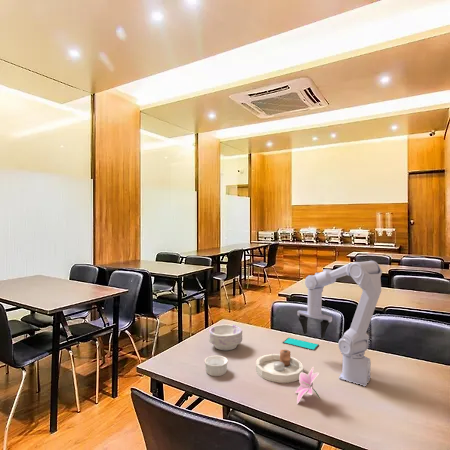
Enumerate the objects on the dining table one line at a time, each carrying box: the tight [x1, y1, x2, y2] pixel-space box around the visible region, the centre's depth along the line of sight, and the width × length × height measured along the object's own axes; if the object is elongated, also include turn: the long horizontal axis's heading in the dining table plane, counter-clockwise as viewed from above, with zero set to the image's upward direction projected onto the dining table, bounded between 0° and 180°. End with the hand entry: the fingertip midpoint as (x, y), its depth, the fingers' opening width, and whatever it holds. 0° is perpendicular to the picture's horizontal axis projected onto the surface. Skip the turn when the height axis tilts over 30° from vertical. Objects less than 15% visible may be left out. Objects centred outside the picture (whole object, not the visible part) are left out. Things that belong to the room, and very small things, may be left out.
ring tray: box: [255, 353, 304, 384], centre depth 123 cm, size 18×18×3 cm
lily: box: [294, 366, 320, 405], centre depth 104 cm, size 12×12×10 cm
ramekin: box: [204, 355, 229, 377], centre depth 122 cm, size 9×9×4 cm
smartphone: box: [282, 337, 320, 351], centre depth 149 cm, size 7×1×15 cm
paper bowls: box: [208, 324, 243, 351], centre depth 145 cm, size 15×15×8 cm
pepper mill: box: [279, 349, 291, 367], centre depth 126 cm, size 4×4×5 cm
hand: (313, 335), depth 135 cm, fingers open, 7 cm apart
